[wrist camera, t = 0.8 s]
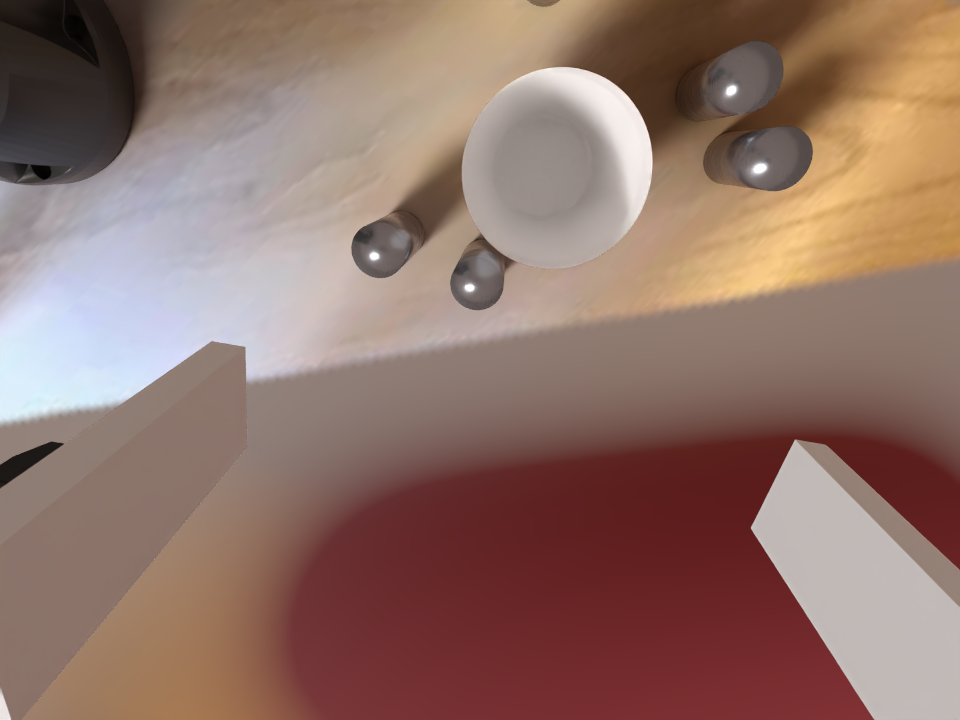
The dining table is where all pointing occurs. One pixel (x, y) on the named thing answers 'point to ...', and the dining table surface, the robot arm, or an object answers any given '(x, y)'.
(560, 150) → the cup
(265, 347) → the dining table surface
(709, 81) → the posts
